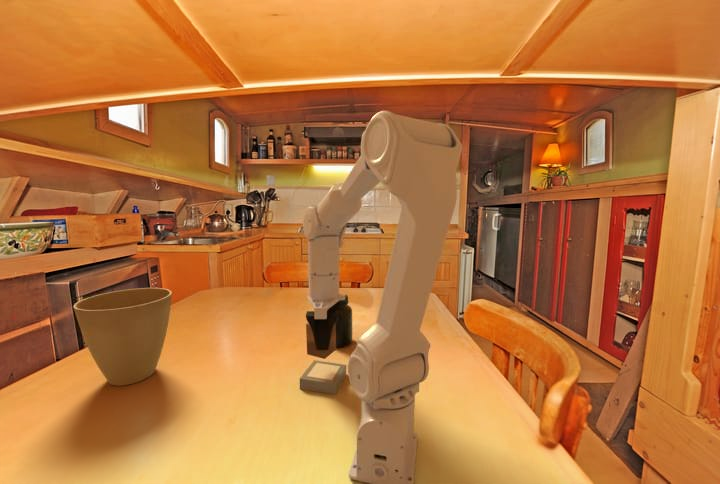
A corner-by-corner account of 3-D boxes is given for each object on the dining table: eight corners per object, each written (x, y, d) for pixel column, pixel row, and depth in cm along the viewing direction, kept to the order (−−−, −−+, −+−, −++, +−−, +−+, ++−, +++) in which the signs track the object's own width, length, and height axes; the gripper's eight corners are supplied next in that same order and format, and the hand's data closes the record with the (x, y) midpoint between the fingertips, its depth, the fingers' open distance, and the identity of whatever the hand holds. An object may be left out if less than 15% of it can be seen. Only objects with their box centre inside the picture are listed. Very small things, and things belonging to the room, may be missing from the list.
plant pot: (187, 354, 69) (183, 286, 67) (155, 394, 54) (149, 308, 52) (113, 359, 66) (107, 288, 64) (58, 402, 52) (49, 312, 50)
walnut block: (324, 359, 56) (323, 327, 55) (307, 354, 57) (306, 324, 57) (336, 349, 59) (335, 320, 58) (319, 345, 61) (318, 316, 60)
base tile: (335, 394, 55) (335, 383, 54) (299, 388, 56) (299, 378, 56) (346, 374, 61) (346, 364, 61) (314, 369, 63) (314, 359, 63)
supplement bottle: (340, 334, 81) (340, 290, 79) (357, 342, 76) (358, 296, 75) (319, 342, 76) (319, 295, 75) (336, 351, 71) (337, 302, 70)
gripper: (344, 282, 49) (344, 360, 51) (345, 265, 64) (345, 326, 65) (301, 281, 49) (302, 361, 51) (312, 264, 64) (312, 326, 65)
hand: (323, 341), depth 58 cm, fingers closed on walnut block, 5 cm apart
